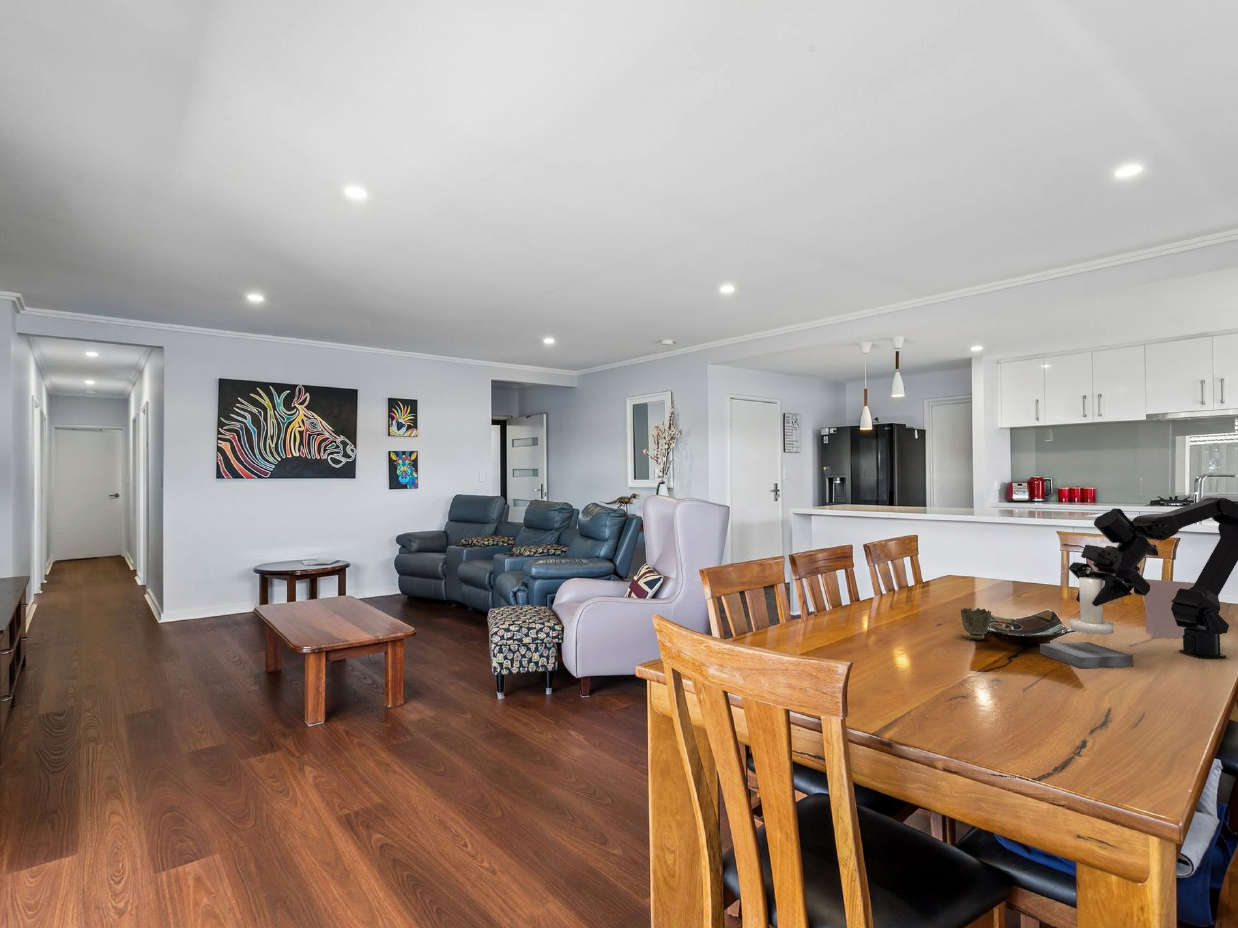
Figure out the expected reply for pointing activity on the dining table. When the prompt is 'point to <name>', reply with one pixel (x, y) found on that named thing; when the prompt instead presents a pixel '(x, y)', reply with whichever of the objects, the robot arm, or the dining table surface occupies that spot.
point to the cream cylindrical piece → (1090, 609)
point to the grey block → (1086, 655)
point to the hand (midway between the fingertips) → (1085, 603)
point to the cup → (976, 622)
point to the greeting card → (1163, 608)
